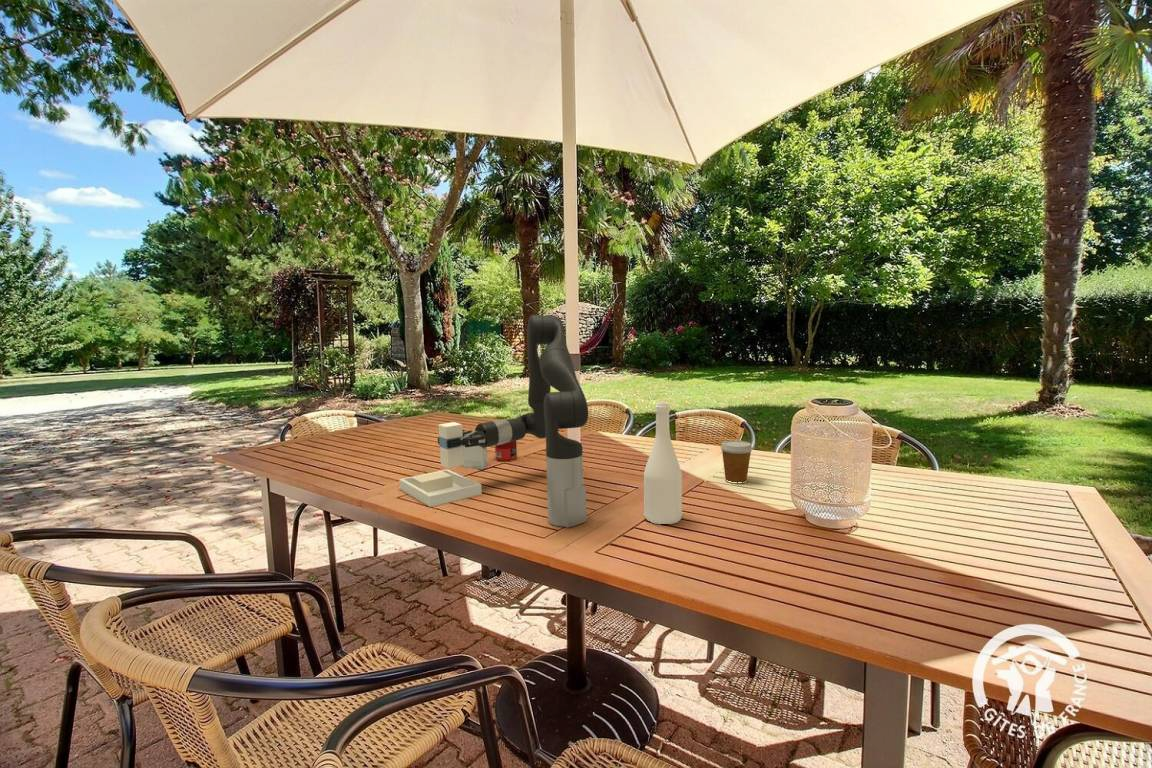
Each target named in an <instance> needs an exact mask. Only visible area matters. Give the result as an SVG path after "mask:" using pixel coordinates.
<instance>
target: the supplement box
mask: <svg viewBox="0 0 1152 768" xmlns="http://www.w3.org/2000/svg"><path fill="white" fill-rule="evenodd" d="M463 452H464V465H462V466H463V468H471V469H474V470H476V469H485V468H486V467H487V465H488V447H485V448H482V447H480V446H473V447H467V448H466V447H465V446H463Z"/></svg>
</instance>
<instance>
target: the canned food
mask: <svg viewBox="0 0 1152 768" xmlns="http://www.w3.org/2000/svg"><path fill="white" fill-rule="evenodd" d="M494 447H495V448H494V449H495V450H494V451H495V459H497V460H499V461H498V462H502V461H507V462H512V461H511V460H513V461H515V459H516V460H517V457H518V456H517V455H518V450H517V447H518V446H517V440H516V441H511V442H507V443H504V444H500V445H495V446H494ZM497 460H496V461H497Z"/></svg>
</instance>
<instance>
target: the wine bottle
mask: <svg viewBox="0 0 1152 768" xmlns="http://www.w3.org/2000/svg"><path fill="white" fill-rule="evenodd" d="M654 409H655V411H654V412H655V416H656V417H655V436H654V437H655V438H654V441H653V444H652V447H651V450H650V454H649V456H648V458H647V462H646V465H645V469H644V471H643V472H644V473H643V502H644V503H643V511H644V518H645V519H646V520H647V521H648V522H649V521H650V523H652V524H656V525H661V524H669V525H673V524H677V523H679V522H680V521H681V519H682V518H683V473H682V470H681V465H680V462H679V460H678V458H677V454H676V451H675V448H674V446H673V442H672V439H671V434H670V412H671V405H670V403H669V402H666V401H664V402H663V401H660V402H656V403H655V406H654Z"/></svg>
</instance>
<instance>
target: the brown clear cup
mask: <svg viewBox="0 0 1152 768" xmlns="http://www.w3.org/2000/svg"><path fill="white" fill-rule="evenodd" d="M720 449H721V453H722V460H723V462H722V463H723V470H724V477H725V479H726V480H728V481H731V482H737V483H738V482H745V481H746V480H748V473H749V466H750V459H751V452H752V451H753V447H752V444H751V443H750V442H748V441H745V440H733V439H732V440H731V439H730V440H725V441H722V443H721V446H720ZM726 480H725V481H726ZM746 482H747V481H746Z"/></svg>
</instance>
